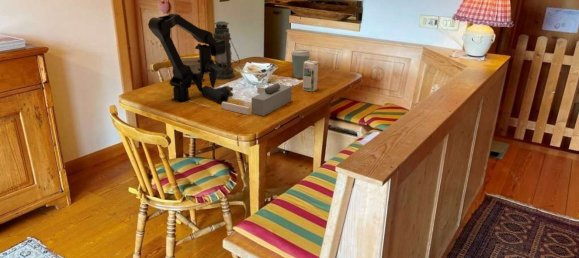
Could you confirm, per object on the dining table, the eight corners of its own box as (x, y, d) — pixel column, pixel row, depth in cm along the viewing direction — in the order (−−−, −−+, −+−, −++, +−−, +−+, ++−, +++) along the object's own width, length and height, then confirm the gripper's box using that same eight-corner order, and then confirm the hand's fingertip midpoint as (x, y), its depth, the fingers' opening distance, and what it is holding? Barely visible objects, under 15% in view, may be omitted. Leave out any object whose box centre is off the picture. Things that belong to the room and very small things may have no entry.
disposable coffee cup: (287, 78, 237) (288, 51, 231) (293, 73, 246) (294, 47, 240) (306, 80, 234) (307, 52, 228) (311, 75, 243) (312, 49, 238)
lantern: (205, 73, 241) (203, 19, 230) (229, 70, 248) (227, 17, 237) (219, 81, 226) (217, 24, 214) (244, 78, 233) (243, 22, 222)
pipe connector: (221, 81, 208) (239, 89, 198) (221, 92, 211) (239, 99, 200) (200, 86, 201) (218, 94, 191) (201, 97, 203) (219, 105, 193)
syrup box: (302, 90, 216) (303, 62, 211) (307, 87, 221) (308, 59, 216) (312, 92, 214) (313, 63, 208) (317, 89, 219) (318, 61, 213)
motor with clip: (260, 117, 178) (260, 94, 175) (221, 108, 187) (221, 86, 184) (293, 99, 202) (294, 79, 198) (258, 92, 211) (258, 72, 207)
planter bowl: (207, 77, 234) (206, 57, 230) (202, 85, 219) (201, 64, 215) (177, 76, 234) (176, 56, 229) (171, 84, 219) (169, 63, 214)
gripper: (206, 64, 191) (207, 97, 196) (231, 56, 206) (231, 87, 212) (186, 60, 195) (188, 93, 201) (212, 53, 211) (213, 84, 217)
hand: (206, 89), depth 208 cm, fingers open, 9 cm apart
